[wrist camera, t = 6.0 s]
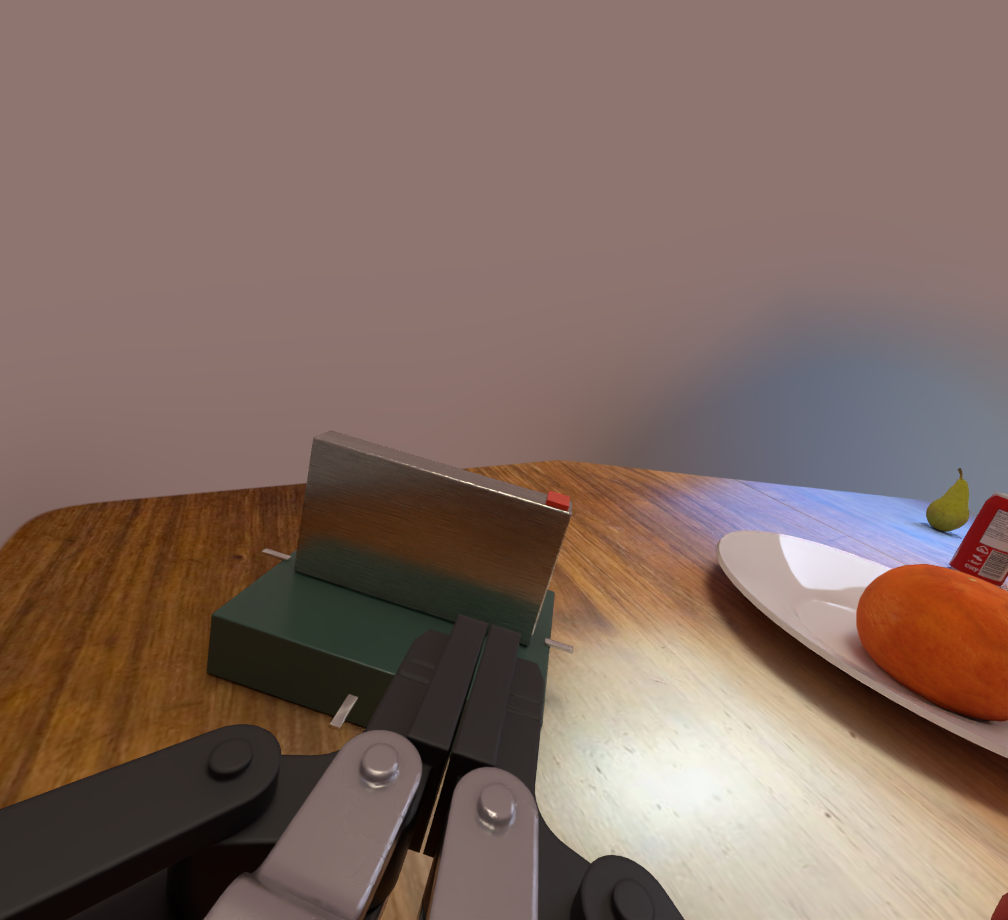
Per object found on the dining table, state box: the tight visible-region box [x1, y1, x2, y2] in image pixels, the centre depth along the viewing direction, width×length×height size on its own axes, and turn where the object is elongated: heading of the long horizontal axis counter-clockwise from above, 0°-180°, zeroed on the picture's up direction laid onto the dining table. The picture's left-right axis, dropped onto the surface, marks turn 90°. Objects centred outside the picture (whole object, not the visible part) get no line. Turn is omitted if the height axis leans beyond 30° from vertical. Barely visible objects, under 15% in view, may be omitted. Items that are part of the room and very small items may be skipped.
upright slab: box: [294, 431, 572, 646], centre depth 23 cm, size 12×2×7 cm, turn 81°
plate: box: [716, 531, 1008, 758], centre depth 36 cm, size 28×28×9 cm
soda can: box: [949, 492, 1008, 586], centre depth 64 cm, size 6×6×12 cm
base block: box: [207, 548, 573, 757], centre depth 24 cm, size 16×16×3 cm
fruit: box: [926, 468, 969, 531], centre depth 89 cm, size 6×6×12 cm
